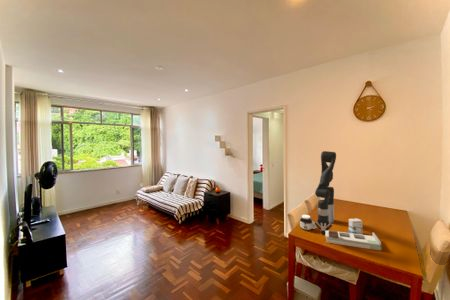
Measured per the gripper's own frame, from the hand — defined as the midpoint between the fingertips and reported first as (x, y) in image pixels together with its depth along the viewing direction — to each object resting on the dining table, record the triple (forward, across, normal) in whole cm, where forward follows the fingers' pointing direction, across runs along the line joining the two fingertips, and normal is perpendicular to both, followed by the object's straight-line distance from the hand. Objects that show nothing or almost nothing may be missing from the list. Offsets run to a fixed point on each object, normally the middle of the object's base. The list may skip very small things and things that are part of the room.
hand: (323, 234), depth 154 cm
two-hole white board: (+4, -19, -4) cm, 20 cm away
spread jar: (+4, +11, -15) cm, 19 cm away
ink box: (+4, -25, -18) cm, 31 cm away
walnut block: (+1, -7, 0) cm, 7 cm away
